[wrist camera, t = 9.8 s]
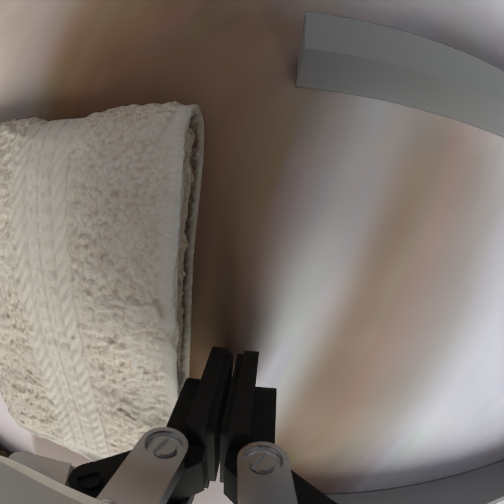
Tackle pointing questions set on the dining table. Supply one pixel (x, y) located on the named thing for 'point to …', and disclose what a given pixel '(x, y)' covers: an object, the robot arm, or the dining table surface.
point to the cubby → (421, 97)
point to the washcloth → (98, 271)
